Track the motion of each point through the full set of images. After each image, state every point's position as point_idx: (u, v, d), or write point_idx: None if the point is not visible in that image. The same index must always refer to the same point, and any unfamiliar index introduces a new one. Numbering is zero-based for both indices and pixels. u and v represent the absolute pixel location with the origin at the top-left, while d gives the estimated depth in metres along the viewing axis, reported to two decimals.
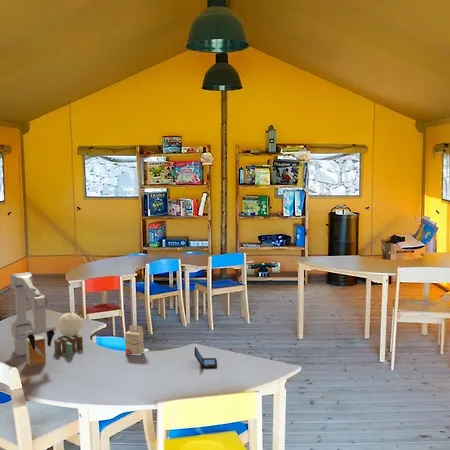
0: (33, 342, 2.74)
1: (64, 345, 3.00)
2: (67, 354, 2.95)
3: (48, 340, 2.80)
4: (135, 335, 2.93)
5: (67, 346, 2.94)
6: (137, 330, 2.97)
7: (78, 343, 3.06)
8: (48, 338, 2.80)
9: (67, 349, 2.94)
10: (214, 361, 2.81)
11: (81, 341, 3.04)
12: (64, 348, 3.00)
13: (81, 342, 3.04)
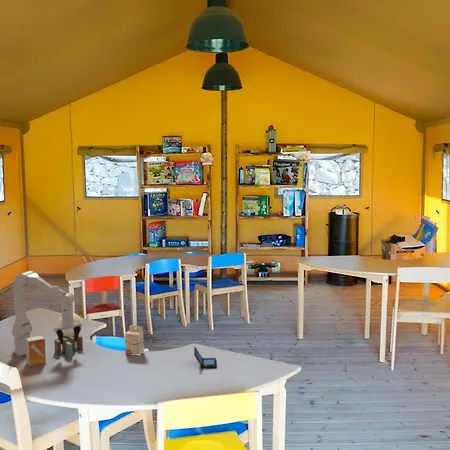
0: (61, 337, 2.90)
1: (64, 345, 3.00)
2: (67, 354, 2.95)
3: (75, 335, 2.96)
4: (135, 335, 2.93)
5: (67, 346, 2.94)
6: (137, 330, 2.97)
7: (78, 343, 3.06)
8: (75, 333, 2.96)
9: (67, 349, 2.94)
10: (214, 361, 2.81)
11: (81, 341, 3.04)
12: (64, 348, 3.00)
13: (81, 342, 3.04)
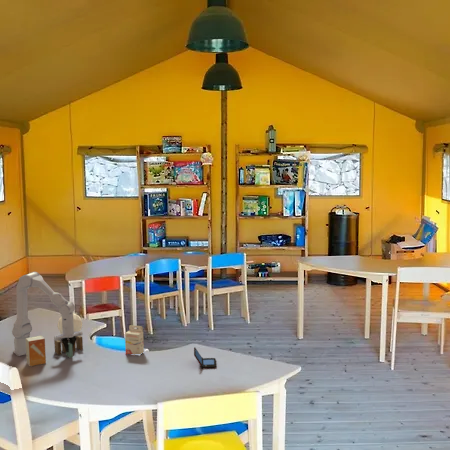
0: (67, 345, 2.92)
1: None
2: (67, 354, 2.95)
3: None
4: (135, 335, 2.93)
5: None
6: (137, 330, 2.97)
7: (78, 343, 3.06)
8: None
9: None
10: (213, 361, 2.81)
11: (81, 341, 3.04)
12: (64, 348, 3.00)
13: (81, 342, 3.04)
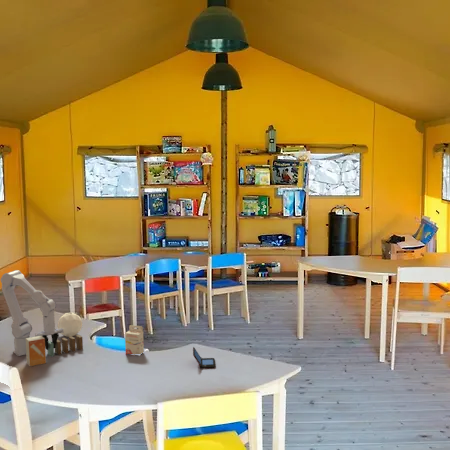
0: (46, 342, 2.94)
1: (64, 345, 3.00)
2: (48, 353, 2.97)
3: (53, 342, 2.97)
4: (135, 335, 2.93)
5: (48, 345, 2.96)
6: (137, 330, 2.97)
7: (78, 343, 3.06)
8: (53, 340, 2.97)
9: (48, 348, 2.96)
10: (213, 361, 2.81)
11: (81, 341, 3.04)
12: (64, 348, 3.00)
13: (81, 342, 3.04)
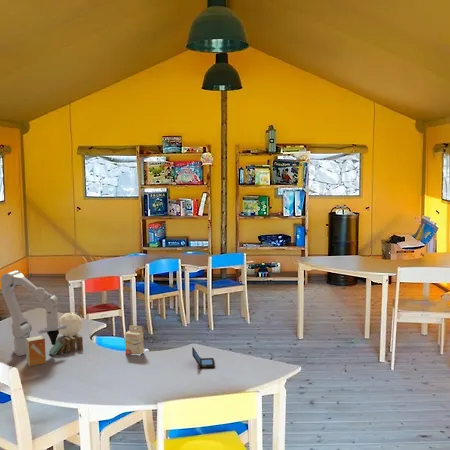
0: (52, 338, 2.95)
1: (66, 344, 3.00)
2: (51, 351, 2.98)
3: None
4: (135, 335, 2.93)
5: (56, 344, 2.99)
6: (137, 330, 2.97)
7: (78, 343, 3.06)
8: None
9: (54, 347, 2.98)
10: (212, 361, 2.81)
11: (81, 341, 3.04)
12: (65, 348, 3.00)
13: (81, 342, 3.04)
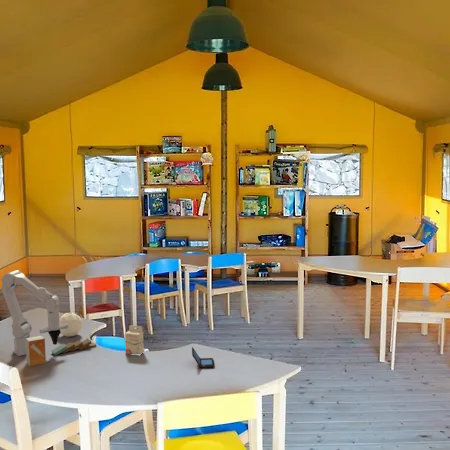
0: (54, 337, 2.96)
1: (76, 345, 3.04)
2: (54, 350, 2.98)
3: (55, 339, 2.97)
4: (135, 335, 2.93)
5: (61, 346, 3.00)
6: (137, 330, 2.97)
7: (88, 345, 3.09)
8: None
9: (59, 348, 3.00)
10: (211, 361, 2.81)
11: None
12: None
13: (91, 347, 3.08)
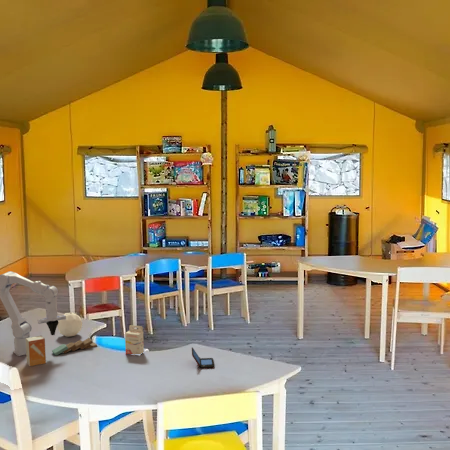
0: (52, 328, 2.96)
1: (77, 344, 3.04)
2: (54, 350, 2.99)
3: (53, 329, 2.97)
4: (135, 335, 2.93)
5: (62, 346, 3.00)
6: (137, 330, 2.97)
7: (89, 345, 3.09)
8: None
9: (59, 348, 3.00)
10: (211, 361, 2.81)
11: None
12: None
13: (92, 347, 3.08)
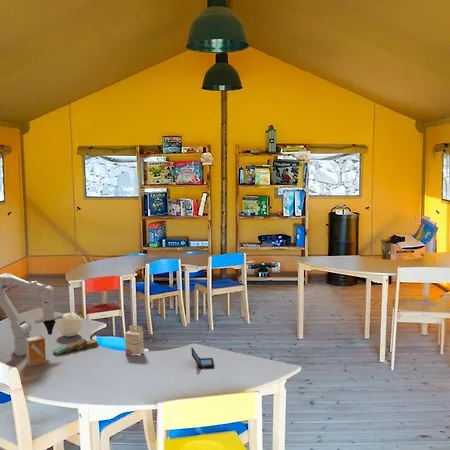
0: (49, 327, 2.97)
1: (80, 343, 3.06)
2: (55, 350, 2.99)
3: (50, 329, 2.98)
4: (135, 335, 2.93)
5: (63, 346, 3.01)
6: (137, 330, 2.97)
7: None
8: None
9: (60, 347, 3.00)
10: (211, 361, 2.81)
11: None
12: (78, 345, 3.05)
13: None
